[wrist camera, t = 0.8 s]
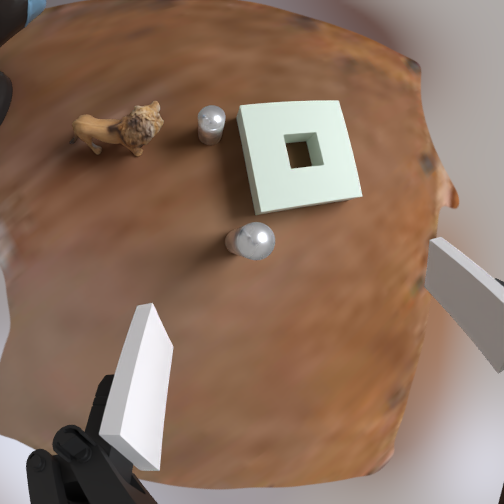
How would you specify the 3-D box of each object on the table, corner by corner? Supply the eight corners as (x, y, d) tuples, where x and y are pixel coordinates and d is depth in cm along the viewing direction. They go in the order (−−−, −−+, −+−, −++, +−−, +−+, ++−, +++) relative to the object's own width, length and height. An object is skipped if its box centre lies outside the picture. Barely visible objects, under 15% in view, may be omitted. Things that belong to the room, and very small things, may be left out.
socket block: (236, 117, 39) (240, 105, 35) (327, 111, 41) (338, 100, 37) (255, 215, 40) (261, 212, 36) (348, 200, 42) (362, 196, 38)
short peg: (196, 125, 38) (196, 107, 32) (219, 122, 38) (223, 103, 33) (200, 147, 38) (200, 131, 32) (223, 143, 39) (227, 127, 33)
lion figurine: (170, 121, 37) (163, 91, 29) (167, 157, 38) (158, 134, 29) (73, 128, 35) (48, 103, 26) (68, 162, 35) (40, 144, 26)
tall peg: (222, 232, 39) (234, 225, 25) (247, 227, 39) (271, 219, 26) (227, 256, 39) (241, 263, 25) (251, 251, 40) (278, 256, 26)
